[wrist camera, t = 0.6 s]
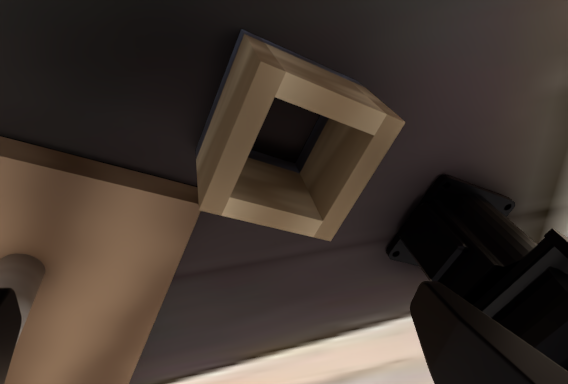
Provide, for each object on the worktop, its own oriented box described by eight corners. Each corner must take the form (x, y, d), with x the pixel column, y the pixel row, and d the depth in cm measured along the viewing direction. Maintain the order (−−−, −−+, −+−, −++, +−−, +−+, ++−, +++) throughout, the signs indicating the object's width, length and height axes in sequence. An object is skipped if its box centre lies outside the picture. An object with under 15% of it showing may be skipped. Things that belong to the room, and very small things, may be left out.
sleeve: (357, 80, 19) (405, 122, 15) (302, 182, 21) (330, 241, 17) (241, 28, 16) (260, 61, 12) (195, 150, 19) (199, 210, 15)
